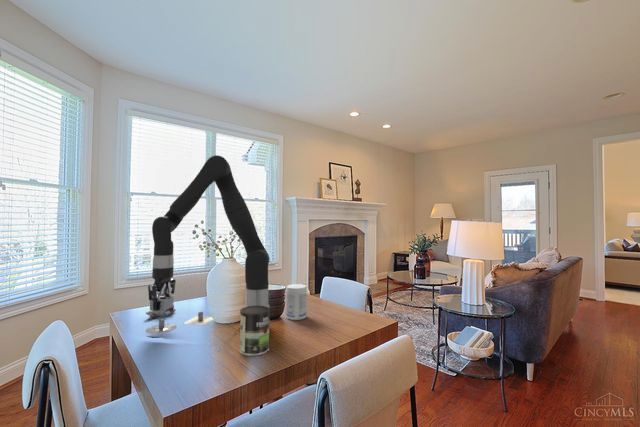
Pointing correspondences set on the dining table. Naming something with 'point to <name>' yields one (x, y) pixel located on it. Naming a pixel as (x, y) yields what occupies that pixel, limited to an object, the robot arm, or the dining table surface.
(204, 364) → the dining table surface
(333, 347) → the dining table surface
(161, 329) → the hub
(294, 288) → the supplement tub
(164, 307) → the square socket block
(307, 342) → the dining table surface
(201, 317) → the stand
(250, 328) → the coffee can
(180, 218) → the robot arm
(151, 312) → the brake caliper
